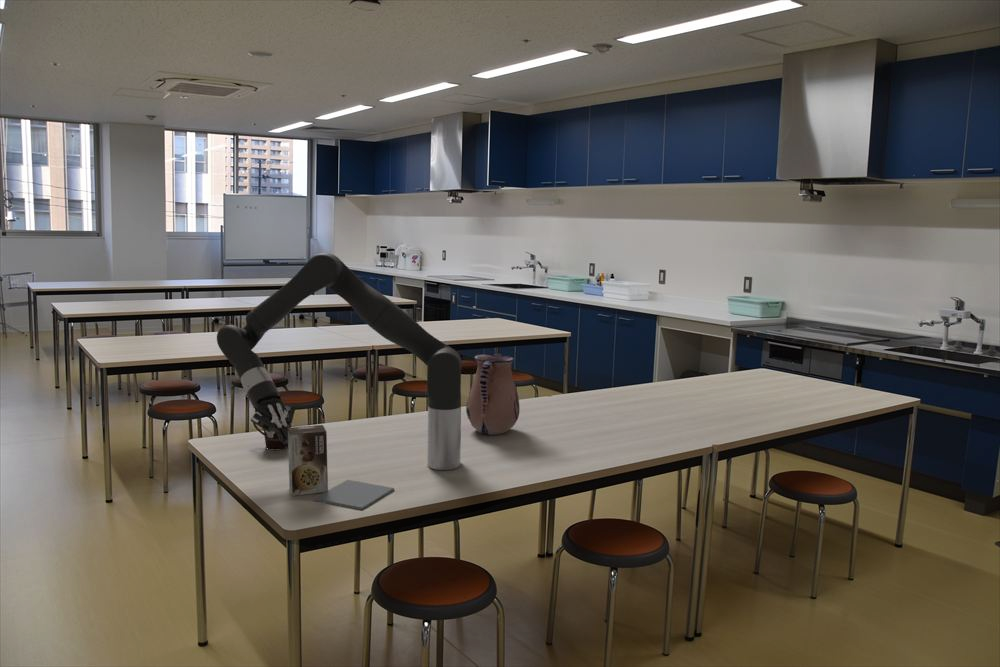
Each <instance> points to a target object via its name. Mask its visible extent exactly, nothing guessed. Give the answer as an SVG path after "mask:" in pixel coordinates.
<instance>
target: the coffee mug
mask: <svg viewBox="0 0 1000 667" xmlns="http://www.w3.org/2000/svg"><path fill="white" fill-rule="evenodd" d="M284 415H285V411H284ZM286 416H287V415H285V420H286ZM252 425H253V427H254V428H255V429H256V431H257V432H259V433H260V434H261V435H263V436H264V440H265V442H264V443H265V448H266V449H267V448H268V449H267V450H269V449H282V450H284V449H283V448H286V447H287V448H288V443H285V444H283V442H281V441H280V439H279V437H278V436H277V434H276V433H275V432H274V431H271V432H268V431H266V430H265V429H263V428H262V430H263V431H262V430H261V429H260V428H259V426H258V425H256V424H255V423H253V422H252ZM267 426H268V425H267ZM288 428H291V424H290V425H289V427H288ZM287 448H286V449H287Z"/></svg>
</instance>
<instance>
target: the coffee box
mask: <svg viewBox="0 0 1000 667" xmlns="http://www.w3.org/2000/svg"><path fill="white" fill-rule="evenodd" d="M327 432H328V431H327V430H326V428H325V426H324V424H318V425H317V424H316V425H305V426H294V427H290V428H288V447H287V448H288V449H287V451H288V478H289V480H288V482H289V483H288V484H289V491H290V495H291V496H292V497H296V496H295V495H297V496H304V495H305V494H306V495H311V494H312V495H313V494H322V493H324V492H326V491H328V490H329V480H328V479H329V477H328V474H329V473H328V443H327V442H328V441H327V440H328V436H327V434H328V433H327Z"/></svg>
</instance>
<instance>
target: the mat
mask: <svg viewBox="0 0 1000 667" xmlns="http://www.w3.org/2000/svg"><path fill="white" fill-rule="evenodd" d="M393 490H394V491H395V488H394V487H391V486H386V485H379V484H374V483H373V484H372V483H368V482H363V481H362V482H361V481H356V480H351V479H346V480H345V481H343V482H341V483H339V484H337V485H335V486H333V487H331V488H330V489H328V491H326V492H323V493H319V495H316V496H315V497H313V498H312V499H313V500H314V502H318V501H320V502H319V503H323V502H325V504H328V503H331V504H330V505H333V504H336V505H335V506H339V505H341V506H340V507H344V506H346V507H345V508H349V507H352V508H351V509H355V508H357V509H356V510H360V509H363V510H364V508H365V507H366V508H367V506H368V507H369V506H371V505H373V504H374V503H376V502H377V501H379V500H381V499H382V498H383V496H384V497H385V495H386V496H387V495H389V494H390V493H392V492H394V491H393ZM391 491H392V492H391ZM388 493H389V494H388ZM381 497H382V498H381ZM380 498H381V499H380ZM378 499H379V500H378ZM375 501H376V502H375ZM373 502H374V503H373ZM372 503H373V504H372ZM370 504H371V505H370ZM366 508H365V509H366Z"/></svg>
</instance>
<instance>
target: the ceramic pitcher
mask: <svg viewBox="0 0 1000 667" xmlns="http://www.w3.org/2000/svg"><path fill="white" fill-rule="evenodd" d="M474 360H475V361H476V363H477V367H476V368H477V369H476V372H475V376H474V378H473V382H472V385H471V387H470V390H469V393H468V397H467V400H466V404H465V406H466V407H465V409H466V410H465V413H466V416H467V419H468V420H469V423H470V425H471V426H472V427H473V428H474V429H475V430H476V431H477V432H478V433H480V434H484V435H485V434H486V435H490V436H491V435H493V436H494V435H501V434H504V433H507V432H508V431H510V430H511V429H512V428H513V427H514V426H515V425H516V423H517V421H518V419H519V416H520V408H521V407H520V399H519V395H518V394H519V393H518V391H517V390H518V389H517V386H516V384H515V380H514V376H513V372H512V364H513V362H515V358H514V357H512V356H508V355H506V356H505V355H504V356H503V355H502V354H501V353H494V354H493V355H490V354H476V355H475V356H474Z"/></svg>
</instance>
